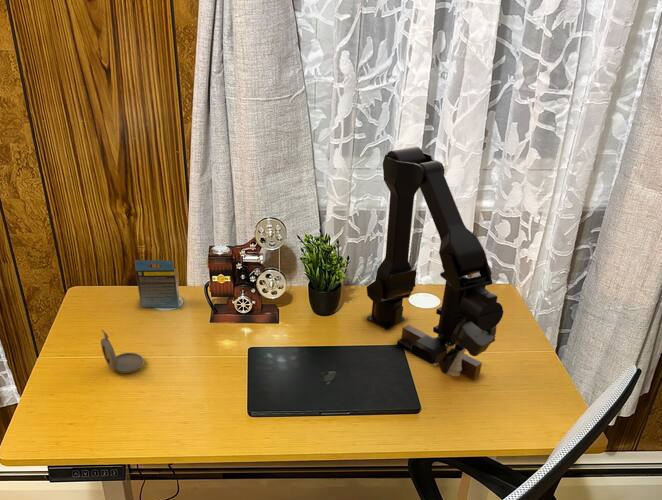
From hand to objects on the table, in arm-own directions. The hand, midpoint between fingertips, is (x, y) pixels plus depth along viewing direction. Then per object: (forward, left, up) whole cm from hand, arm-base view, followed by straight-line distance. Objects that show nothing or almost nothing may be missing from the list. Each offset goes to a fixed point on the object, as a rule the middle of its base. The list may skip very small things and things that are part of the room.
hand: (444, 372), depth 157 cm
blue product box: (-65, -25, -2) cm, 69 cm away
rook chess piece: (0, +2, -1) cm, 2 cm away
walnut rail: (-6, +6, -2) cm, 8 cm away
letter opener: (-10, +4, -2) cm, 10 cm away
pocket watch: (-50, -46, -2) cm, 68 cm away
